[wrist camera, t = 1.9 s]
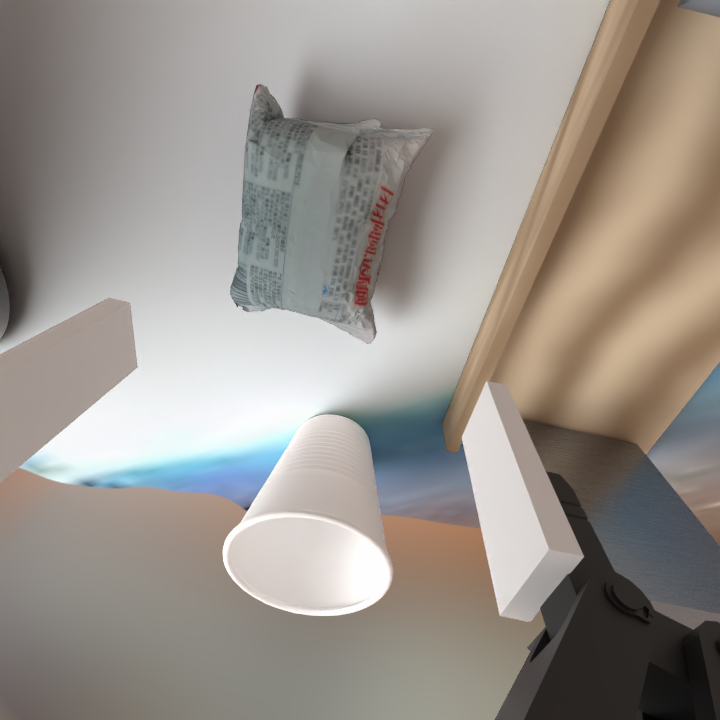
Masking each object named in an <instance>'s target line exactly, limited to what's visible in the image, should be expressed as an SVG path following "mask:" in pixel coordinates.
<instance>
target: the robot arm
mask: <svg viewBox="0 0 720 720" xmlns="http://www.w3.org/2000/svg"><path fill="white" fill-rule="evenodd" d="M9 314H10V302H9V294H8V289H7V285H6V281H5V278H4V275H3V272H2V270H1V267H0V339H1V337H2V336H3V334H4V332H5V330H6V328H7V325H8V320H9ZM136 368H137V359H136V350H135V342H134V333H133V325H132V316H131V308H130V303H129V302H124V301H120V300H115V299H111V298H108V299H106V300H104V301H102V302H100V303H98V304H96V305H94V306H92V307H91V308H89V309H87V310H85V311H83V312H81V313H79V314H77V315H75V316H73V317H71V318H69V319H67V320H65V321H64V322H62V323H60V324H58V325H56V326H54V327H52V328H50V329H48V330H46V331H44V332H42V333H40V334H39V335H37V336H35V337H33V338H31V339H29V340H27V341H25V342H23V343H21V344H19V345H17V346H15V347H14V348H12V349H10V350H8V351H6V352H4V353H2V354H0V482H1V481H3V480H4V479H5V478H6V477H7V476H9V475H10V474H11V473H12V472H13V471H15V470H16V469H17V468H18V467H19V466H21V465H22V464H23V463H24V462H25V461H27V460H28V459H29V458H30V457H31V456H32V455H34V454H35V453H36V452H37V451H38V450H40V449H41V448H42V447H43V446H44V445H46V444H47V443H48V442H49V441H50V440H51V439H53V438H54V437H55V436H56V435H57V434H59V433H60V432H61V431H62V430H63V429H65V428H66V427H67V426H68V425H69V424H71V423H72V422H73V421H74V420H75V419H76V418H78V417H79V416H80V415H81V414H82V413H84V412H85V411H86V410H87V409H88V408H90V407H91V406H92V405H93V404H94V403H96V402H97V401H98V400H99V399H100V398H101V397H103V396H104V395H105V394H106V393H107V392H109V391H110V390H111V389H112V388H113V387H115V386H116V385H117V384H118V383H119V382H121V381H122V380H123V379H124V378H125V377H126V376H128V375H129V374H130V373H131V372H132V371H134V370H135V369H136ZM462 441H463V446H464V450H465V455H466V460H467V464H468V469H469V474H470V479H471V483H472V488H473V493H474V497H475V502H476V507H477V511H478V516H479V521H480V525H481V530H482V535H483V539H484V544H485V548H486V553H487V558H488V562H489V567H490V572H491V577H492V581H493V586H494V590H495V596H496V600H497V605H498V609H499V614H500V616H503V617H508V618H513V619H517V620H522V621H528V622H530V621H531V620H532V619H533V618H534V616H535V615H536V614H537V613H538V612H539V610H540V609H541V612H542V615H543V619H544V622H545V625H546V627H545V628H544V629H543V631H542V632H541V633H540V634H539V635H538V636H537V637H536V639H535V640H534V641H533V642H532V643H531V644H530V645H529V646H528V649H529V650H530V651H531V652H530V654H529V655H528V657H527V659H526V661H525V664H524V665H523V667H522V669H521V671H520V673H519V674H518V676H517V678H516V680H515V682H514V684H513V686H512V688H511V690H510V692H509V694H508V696H507V697H506V699H505V701H504V703H503V705H502V707H501V709H500V711H499V713H498V714H497V716H496V718H495V720H720V623H719V622H717V621H704V622H703V623H702V624H700V625H699V626H698V627H697V628H695V629H694V630H693V629H691V628H689V627H687V626H685V625H683V624H681V623H679V622H677V621H675V620H673V619H671V618H669V617H667V616H665V615H663V614H661V613H659V612H657V611H655V610H654V608H653V606H652V604H651V602H650V601H649V600H648V598H647V597H646V596H645V595H644V593H643V592H642V591H641V590H640V589H639V588H638V587H637V586H636V585H635V584H633V583H632V582H631V581H630V580H629V579H627V578H625V577H624V576H622V575H620V574H619V573H616V572H615V571H614V569H613V567H612V565H611V563H610V561H609V559H608V557H607V555H606V553H605V551H604V549H603V547H602V545H601V543H600V541H599V539H598V537H597V535H596V533H595V531H594V529H593V527H592V525H591V523H590V522H589V521H588V517H587V515H586V513H585V511H584V509H583V508H581V504H580V502H579V500H578V498H577V496H576V494H575V492H574V490H573V488H572V487H571V486H570V485H569V484H568V483H567V482H566V481H565V480H564V478H563V477H562V476H561V475H560V474H556V473H552V472H547V471H545V469H544V466H543V464H542V462H541V460H540V458H539V455H538V453H537V451H536V449H535V446H534V444H533V442H532V440H531V438H530V435H529V433H528V431H527V429H526V426H525V424H524V422H523V420H522V418H521V415H520V413H519V411H518V409H517V406H516V404H515V402H514V400H513V398H512V395H511V393H510V391H509V389H508V386H507V385H504V384H499V383H495V382H490V381H486V383H485V385H484V388H483V390H482V392H481V394H480V397H479V399H478V401H477V403H476V406H475V408H474V410H473V413H472V415H471V417H470V419H469V422H468V424H467V426H466V428H465V431H464V433H463V435H462Z"/></svg>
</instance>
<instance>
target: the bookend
mask: <svg viewBox="0 0 720 720" xmlns="http://www.w3.org/2000/svg"><path fill="white" fill-rule="evenodd" d="M523 422H524V424H525V426H526V429H527V431H528V433H529V435H530V438H531V440H532V442H533V444H534V446H535V449H536V451H537V453H538V455H539V458H540V460H541V462H542V464H543V466H544V469H545V471H547V472H552V473H556V474H560V475H561V476H562V477H563V478H564V480H565V481H566V482H567V483H568V484H569V485H570V486H571V487H572V488H573V490H574V492H575V494H576V496H577V498H578V500H579V502H580V504H581V508H583V509H584V511H585V513H586V515H587V517H588V521H589V522H590V523H591V525H592V527H593V529H594V531H595V533H596V535H597V537H598V539H599V541H600V543H601V545H602V547H603V549H604V551H605V553H606V555H607V557H608V559H609V561H610V563H611V565H612V567H613V569H614V571H615V572H616V573H619V574H620V575H622V576H624V577H625V578H627V579H629V580H630V581H631V582H632V583H633V584H635V585H636V586H637V587H638V588H639V589H640V590H641V591H642V592H643V593H644V595H645V596H646V597H647V598H648V600H649V601H650V602H651V604H652V606H653V608H654V610H655V611H657V612H659V613H661V614H663V615H665V616H667V617H669V618H671V619H673V620H675V621H677V622H679V623H681V624H683V625H685V626H687V627H689V628H691V629H693V630H694V629H695V628H697V627H698V626H699V625H700V624H702V623H703V622H704V621H717V622H719V623H720V546H719V545H718V543H717V542H716V541H715V540H714V538H713V537H712V536H711V535H710V533H709V532H708V531H707V530H706V529H705V527H704V526H703V525H702V524H701V522H700V521H699V520H698V519H697V517H696V516H695V515H694V514H693V512H692V511H691V510H690V509H689V508H688V506H687V505H686V504H685V503H684V501H683V500H682V499H681V498H680V496H679V495H678V494H677V493H676V491H675V490H674V489H673V488H672V487H671V485H670V484H669V483H668V482H667V480H666V479H665V478H664V477H663V475H662V474H661V473H660V472H659V470H658V469H657V468H656V467H655V466H654V464H653V463H652V462H651V461H650V459H649V458H648V457H647V456H646V454H645V453H644V452H643V451H642V449H641V448H640V447H639V446H638V444H637V443H632V442H628V441H623V440H618V439H613V438H608V437H604V436H599V435H594V434H589V433H584V432H580V431H575V430H570V429H565V428H560V427H556V426H551V425H546V424H541V423H536V422H532V421H527V420H523Z"/></svg>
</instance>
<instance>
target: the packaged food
mask: <svg viewBox="0 0 720 720" xmlns="http://www.w3.org/2000/svg"><path fill="white" fill-rule="evenodd" d="M273 99H274V100H275V101H274V100H273ZM381 125H382V124H381V123H380V122H379V121H378V120H377V119H370V120H366V121H362V122H358V123H326V122H315V121H305V120H300V119H295V118H292V119H289V118H284V116H283V113H282V110H281V108H280V106H279V104H278V103H277V101H276V99H275V98H274V97H273V96H272V95H271V94H270V93H269V91H268V88H267V87H265V86H263V85H261V84H259V85H257V86H256V89H255V92H254V96H253V101H252V105H251V110H250V117H249V125H248V132H247V140H246V147H245V162H244V181H243V198H242V221H241V224H240V230H239V245H238V254H239V256H238V265H239V266H238V268H237V270H236V273H235V276H234V279H233V282H232V285H231V290H230V295H231V296H232V299H233V300H234V302H235V303H236V305H237V307H238V305H239V306H242V307H243V310H244V311H247V312H251V311H264V310H266V309H270V308H280V309H282V310H290V311H293V312H297V313H301V314H304V315H308V316H312V317H318V318H320V319H322V320H324V321H326V322H328V323H330V324H333V325H335V326H337V327H338V328H340V329H342V330H344V331H346V332H349V333H350V334H351V335H352V336H354V337H356V338H358V339H360V340H362V341H364V342H365V343H367V344H369V343H371V342H372V341H373V340H374V338H375V335H376V333H377V332H376V327H375V322H374V315H373V309H372V306H371V303H370V301H371V299H372V297H373V293H374V289H375V283H376V280H377V277H378V274H379V270H380V263H381V261H382V257H383V252H384V241H385V234H386V233H385V231H387V229H388V221H389V220H390V219H391V218H392V217H393V216H394V215H395V212H396V208H397V204H398V201H399V198H400V195H401V191H402V187H403V184H404V179H405V176H406V174H407V173H408V171H409V169H410V167H411V165H412V163H413V161H414V160H415V158H416V157H417V156H418V154H419V152H420V150H421V148H422V147H423V146H424V144H425V143H426V141H427V140H428V138H429V137H430V136H431V134H432V131H433V130H432V129H428V128H424V129H411V130H406V129H398V128H397V129H383V128H380V126H381Z"/></svg>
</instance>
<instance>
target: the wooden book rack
mask: <svg viewBox="0 0 720 720" xmlns="http://www.w3.org/2000/svg"><path fill="white" fill-rule="evenodd" d="M719 362H720V0H610V2H609V5H608V7H607V10H606V12H605V15H604V17H603V20H602V23H601V25H600V28H599V30H598V33H597V35H596V38H595V40H594V43H593V45H592V48H591V50H590V53H589V55H588V58H587V60H586V63H585V65H584V68H583V70H582V73H581V75H580V78H579V80H578V83H577V85H576V88H575V90H574V93H573V95H572V98H571V100H570V103H569V105H568V108H567V110H566V113H565V116H564V118H563V121H562V123H561V126H560V128H559V131H558V133H557V136H556V138H555V141H554V143H553V146H552V148H551V151H550V153H549V156H548V158H547V161H546V163H545V166H544V168H543V171H542V173H541V176H540V178H539V181H538V183H537V186H536V188H535V191H534V193H533V196H532V198H531V201H530V203H529V206H528V209H527V211H526V214H525V216H524V219H523V221H522V224H521V226H520V229H519V231H518V234H517V236H516V239H515V241H514V244H513V246H512V249H511V251H510V254H509V256H508V259H507V261H506V264H505V266H504V269H503V271H502V274H501V276H500V279H499V281H498V284H497V286H496V289H495V291H494V294H493V296H492V299H491V301H490V304H489V307H488V309H487V312H486V314H485V317H484V319H483V322H482V324H481V327H480V329H479V332H478V334H477V337H476V339H475V342H474V344H473V347H472V349H471V352H470V354H469V357H468V359H467V362H466V364H465V367H464V369H463V372H462V374H461V377H460V379H459V382H458V384H457V387H456V389H455V392H454V394H453V397H452V400H451V402H450V405H449V407H448V410H447V412H446V415H445V417H444V420H443V422H442V428H443V433H444V439H445V445H446V451H450V452H455V453H458V451H459V448H460V446H461V444H462V442H463V441H462V435H463V433H464V431H465V428H466V426H467V424H468V422H469V419H470V417H471V415H472V413H473V410H474V408H475V406H476V403H477V401H478V399H479V397H480V394H481V392H482V390H483V388H484V385H485V383H486V381H490V382H495V383H499V384H504V385H507V386H508V389H509V391H510V393H511V395H512V398H513V400H514V402H515V404H516V406H517V409H518V411H519V413H520V415H521V418H522V420H527V421H532V422H536V423H541V424H546V425H551V426H556V427H560V428H565V429H570V430H575V431H580V432H584V433H589V434H594V435H599V436H604V437H608V438H613V439H618V440H623V441H628V442H632V443H637V444H638V446H639V447H640V448H641V449H642V451H643V452H644V453H645V454H647V453H648V451H649V450H650V449H651V448H652V446H653V445H654V444H655V443H656V441H657V440H658V439H659V438H660V436H661V435H662V434H663V433H664V431H665V430H666V429H667V428H668V426H669V425H670V424H671V423H672V421H673V420H674V419H675V418H676V416H677V415H678V414H679V413H680V411H681V410H682V409H683V408H684V406H685V405H686V404H687V402H688V401H689V400H690V399H691V397H692V396H693V395H694V394H695V392H696V391H697V390H698V389H699V387H700V386H701V385H702V384H703V382H704V381H705V380H706V379H707V377H708V376H709V375H710V374H711V372H712V371H713V370H714V369H715V367H716V366H717V365H718V364H719Z"/></svg>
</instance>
